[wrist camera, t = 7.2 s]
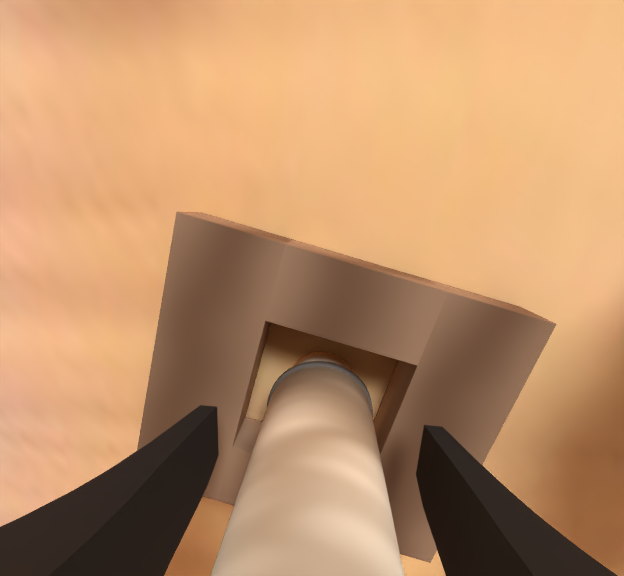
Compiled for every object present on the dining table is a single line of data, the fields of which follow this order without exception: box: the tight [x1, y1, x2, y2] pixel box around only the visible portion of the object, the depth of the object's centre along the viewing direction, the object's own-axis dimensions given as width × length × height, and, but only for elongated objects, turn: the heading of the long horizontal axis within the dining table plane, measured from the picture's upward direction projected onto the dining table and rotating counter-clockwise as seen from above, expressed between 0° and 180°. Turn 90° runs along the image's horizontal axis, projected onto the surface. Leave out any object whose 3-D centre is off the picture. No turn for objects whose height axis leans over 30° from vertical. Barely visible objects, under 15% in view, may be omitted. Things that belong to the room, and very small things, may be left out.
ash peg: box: [211, 352, 404, 576], centre depth 9 cm, size 4×4×9 cm
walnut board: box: [137, 212, 556, 563], centre depth 13 cm, size 14×12×2 cm
